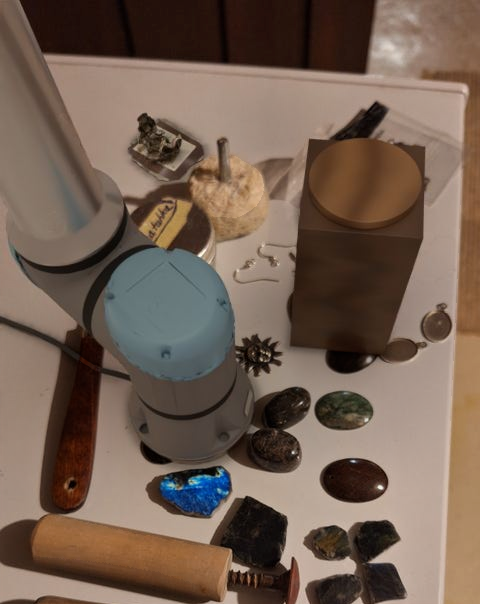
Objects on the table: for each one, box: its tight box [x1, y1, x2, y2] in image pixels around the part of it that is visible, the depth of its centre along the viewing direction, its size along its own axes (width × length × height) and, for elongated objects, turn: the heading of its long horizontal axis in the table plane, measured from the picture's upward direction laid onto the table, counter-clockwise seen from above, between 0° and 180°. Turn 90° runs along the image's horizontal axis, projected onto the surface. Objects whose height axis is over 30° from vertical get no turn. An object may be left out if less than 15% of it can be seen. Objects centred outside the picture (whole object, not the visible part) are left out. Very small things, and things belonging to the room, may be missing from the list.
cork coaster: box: [308, 137, 422, 229], centre depth 63 cm, size 11×11×1 cm
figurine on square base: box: [127, 112, 205, 182], centre depth 95 cm, size 12×6×11 cm
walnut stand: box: [289, 138, 426, 356], centre depth 73 cm, size 12×12×22 cm
